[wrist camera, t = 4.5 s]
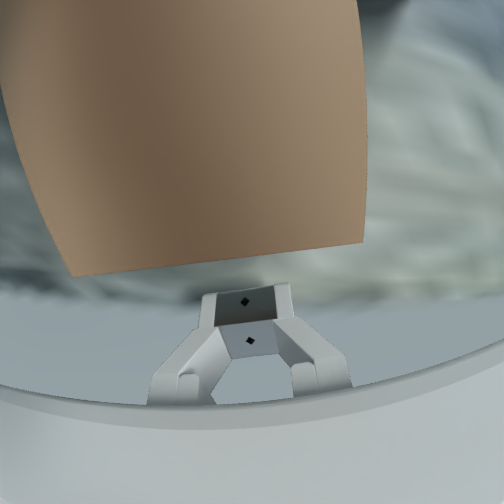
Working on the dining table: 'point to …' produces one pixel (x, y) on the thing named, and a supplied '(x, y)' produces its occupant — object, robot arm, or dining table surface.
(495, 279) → the dining table surface
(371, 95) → the dining table surface
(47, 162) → the walnut block
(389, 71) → the dining table surface
